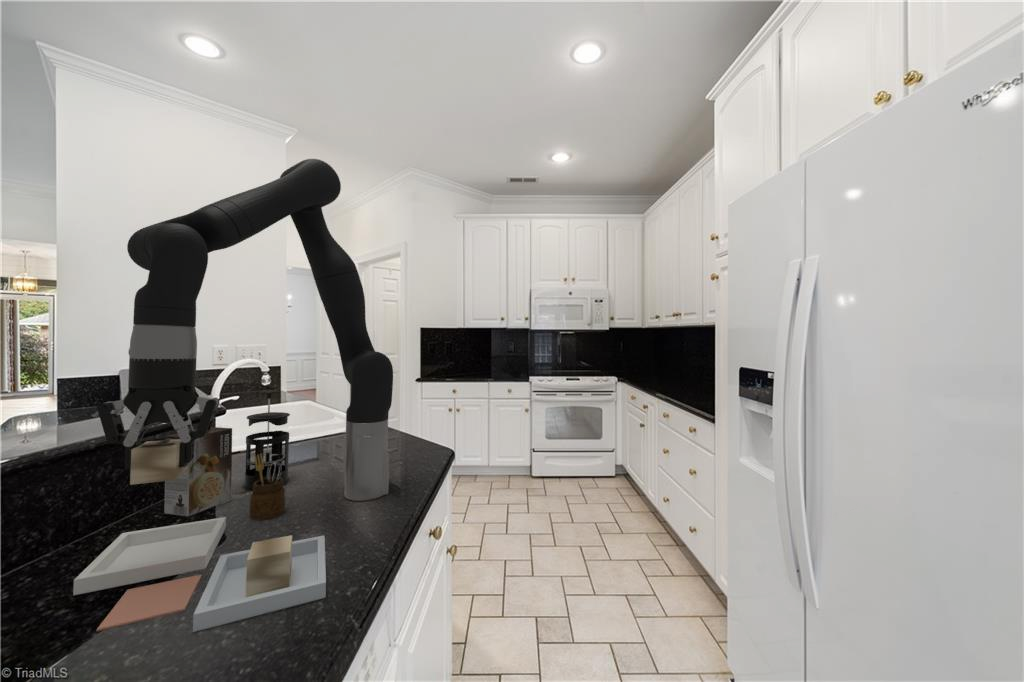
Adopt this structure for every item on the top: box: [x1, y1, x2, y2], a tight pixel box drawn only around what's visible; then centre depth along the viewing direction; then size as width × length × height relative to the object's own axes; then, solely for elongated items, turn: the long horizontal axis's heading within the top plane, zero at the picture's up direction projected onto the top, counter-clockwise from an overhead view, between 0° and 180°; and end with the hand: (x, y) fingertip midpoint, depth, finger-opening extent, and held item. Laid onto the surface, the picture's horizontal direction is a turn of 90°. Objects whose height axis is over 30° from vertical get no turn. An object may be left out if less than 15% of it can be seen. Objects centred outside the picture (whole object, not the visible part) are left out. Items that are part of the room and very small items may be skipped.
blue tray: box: [192, 535, 327, 633], centre depth 54 cm, size 14×14×3 cm
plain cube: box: [246, 535, 293, 597], centre depth 54 cm, size 5×5×5 cm
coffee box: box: [163, 426, 233, 517], centre depth 78 cm, size 9×6×16 cm
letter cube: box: [129, 439, 187, 486], centre depth 57 cm, size 5×5×5 cm
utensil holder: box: [249, 454, 286, 521], centre depth 75 cm, size 6×6×12 cm
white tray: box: [72, 516, 227, 596], centre depth 60 cm, size 14×14×3 cm
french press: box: [242, 389, 291, 492], centre depth 93 cm, size 12×9×23 cm
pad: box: [96, 574, 203, 632], centre depth 49 cm, size 8×8×1 cm
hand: (160, 467), depth 57 cm, fingers closed on letter cube, 5 cm apart
